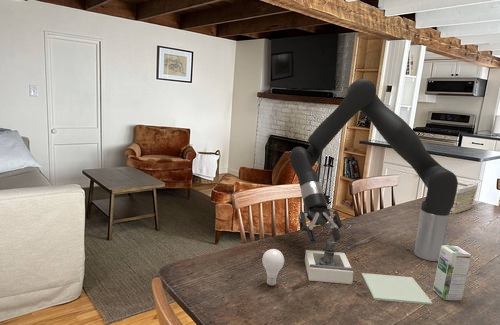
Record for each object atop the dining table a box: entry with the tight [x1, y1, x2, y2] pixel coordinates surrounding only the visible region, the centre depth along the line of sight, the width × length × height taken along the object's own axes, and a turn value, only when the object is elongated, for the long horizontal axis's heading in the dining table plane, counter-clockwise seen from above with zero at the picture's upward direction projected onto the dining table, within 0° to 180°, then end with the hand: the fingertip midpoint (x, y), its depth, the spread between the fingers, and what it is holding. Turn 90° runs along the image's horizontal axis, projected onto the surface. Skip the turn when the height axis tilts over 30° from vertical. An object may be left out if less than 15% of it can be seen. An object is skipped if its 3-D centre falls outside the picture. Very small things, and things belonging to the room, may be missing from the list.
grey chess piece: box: [319, 236, 337, 266], centre depth 111 cm, size 6×6×12 cm
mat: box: [361, 272, 433, 306], centre depth 104 cm, size 16×14×1 cm
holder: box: [304, 249, 354, 285], centre depth 111 cm, size 13×13×5 cm
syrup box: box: [432, 244, 472, 301], centre depth 101 cm, size 6×6×14 cm
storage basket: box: [450, 179, 478, 215], centre depth 192 cm, size 24×16×15 cm
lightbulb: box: [261, 248, 285, 286], centre depth 101 cm, size 6×6×11 cm
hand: (325, 241), depth 113 cm, fingers open, 8 cm apart
